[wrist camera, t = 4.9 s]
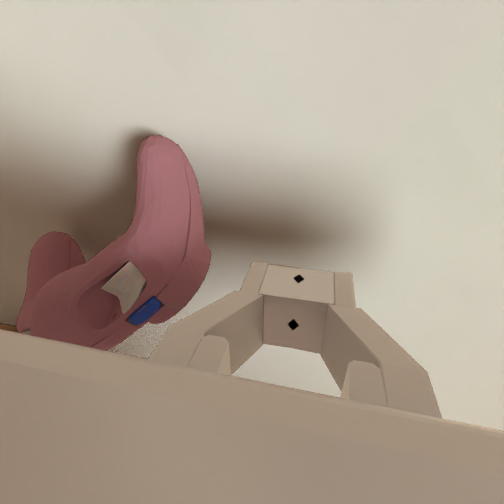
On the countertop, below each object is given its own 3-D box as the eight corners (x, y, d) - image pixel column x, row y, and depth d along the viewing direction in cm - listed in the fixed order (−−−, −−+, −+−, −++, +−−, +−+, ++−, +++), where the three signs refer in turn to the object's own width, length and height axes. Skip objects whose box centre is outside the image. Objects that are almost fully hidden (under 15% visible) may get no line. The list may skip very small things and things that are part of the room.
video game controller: (117, 278, 18) (56, 398, 13) (44, 231, 16) (-67, 356, 10) (242, 198, 13) (224, 334, 8) (166, 114, 11) (76, 234, 6)
